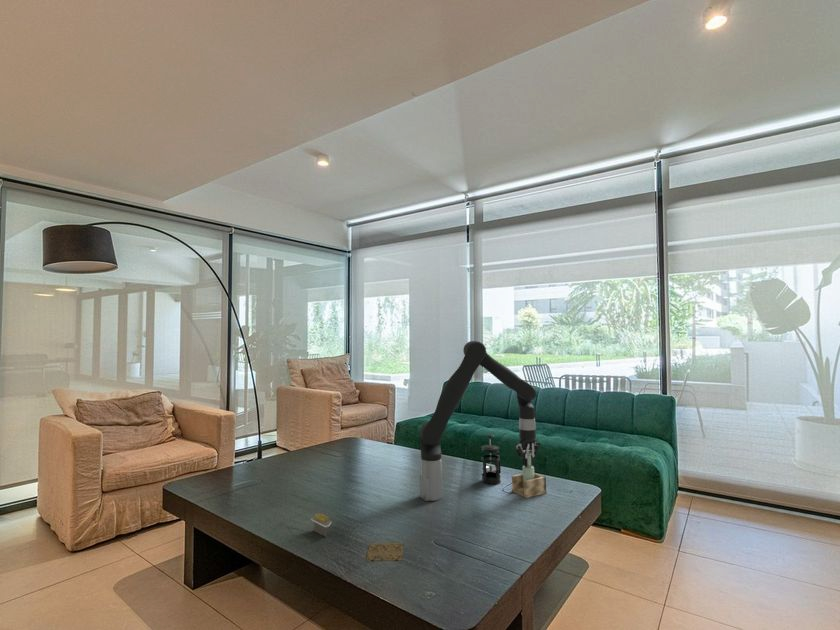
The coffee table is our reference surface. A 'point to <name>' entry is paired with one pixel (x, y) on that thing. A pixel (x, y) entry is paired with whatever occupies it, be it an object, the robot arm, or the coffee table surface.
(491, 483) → the french press
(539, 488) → the u rest
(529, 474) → the pale green pin
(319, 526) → the plastic food container
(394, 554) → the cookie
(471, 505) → the coffee table surface
